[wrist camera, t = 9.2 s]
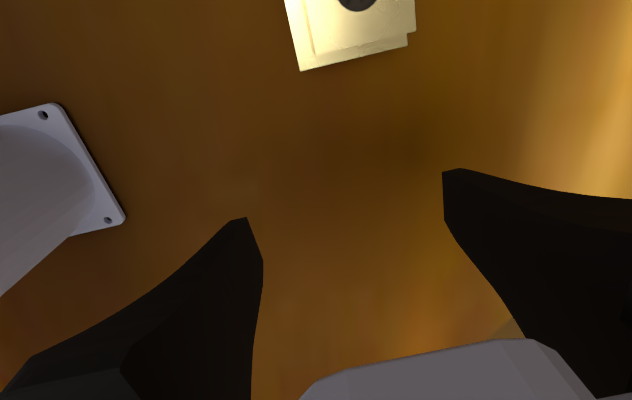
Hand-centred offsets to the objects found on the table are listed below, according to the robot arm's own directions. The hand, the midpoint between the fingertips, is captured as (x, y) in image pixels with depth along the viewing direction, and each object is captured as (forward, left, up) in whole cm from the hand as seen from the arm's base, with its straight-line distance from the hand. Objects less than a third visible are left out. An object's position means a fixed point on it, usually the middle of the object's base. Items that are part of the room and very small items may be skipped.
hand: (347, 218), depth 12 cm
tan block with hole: (+2, +7, -9) cm, 12 cm away
